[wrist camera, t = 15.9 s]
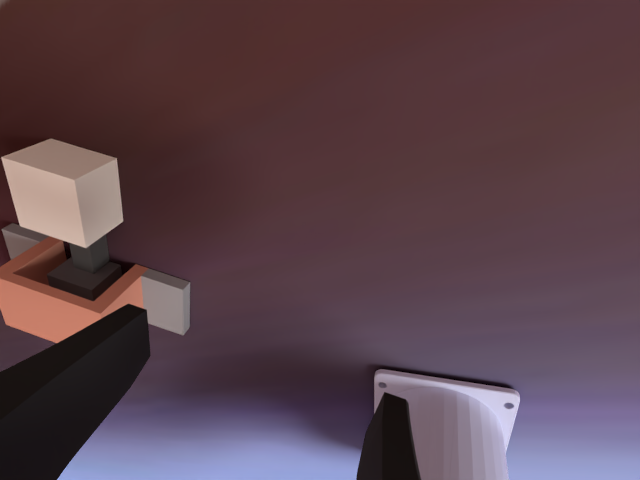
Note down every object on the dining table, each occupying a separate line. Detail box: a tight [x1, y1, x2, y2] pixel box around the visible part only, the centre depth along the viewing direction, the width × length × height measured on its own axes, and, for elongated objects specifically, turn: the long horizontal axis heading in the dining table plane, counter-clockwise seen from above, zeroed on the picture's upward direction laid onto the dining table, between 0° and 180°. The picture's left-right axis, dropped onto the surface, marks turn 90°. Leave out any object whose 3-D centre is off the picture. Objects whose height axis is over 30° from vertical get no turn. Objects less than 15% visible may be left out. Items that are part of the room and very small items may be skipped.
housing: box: [0, 223, 190, 343], centre depth 25 cm, size 4×13×4 cm, turn 79°
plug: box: [1, 139, 123, 301], centre depth 23 cm, size 10×4×3 cm, turn 169°
